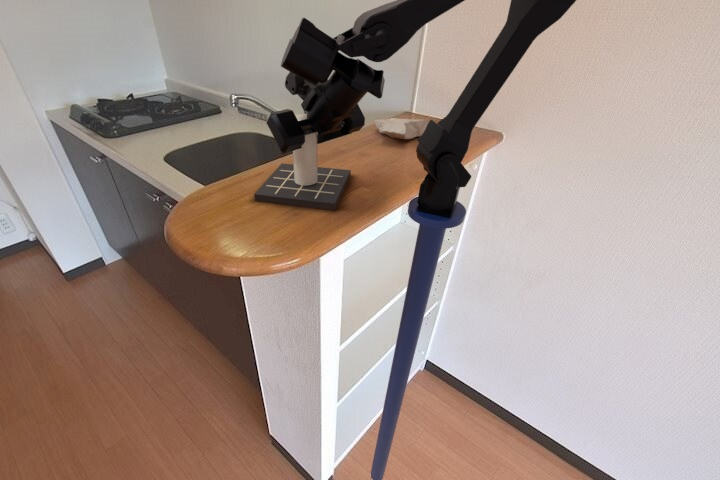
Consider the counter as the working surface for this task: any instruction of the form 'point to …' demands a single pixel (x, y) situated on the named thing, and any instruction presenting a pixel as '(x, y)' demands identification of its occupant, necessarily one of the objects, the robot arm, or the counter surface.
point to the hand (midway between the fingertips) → (299, 146)
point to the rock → (402, 127)
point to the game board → (304, 188)
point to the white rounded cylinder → (306, 159)
